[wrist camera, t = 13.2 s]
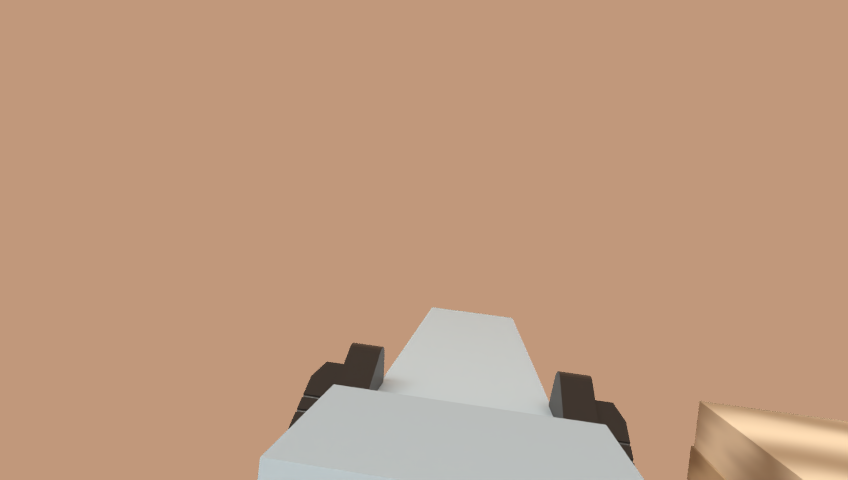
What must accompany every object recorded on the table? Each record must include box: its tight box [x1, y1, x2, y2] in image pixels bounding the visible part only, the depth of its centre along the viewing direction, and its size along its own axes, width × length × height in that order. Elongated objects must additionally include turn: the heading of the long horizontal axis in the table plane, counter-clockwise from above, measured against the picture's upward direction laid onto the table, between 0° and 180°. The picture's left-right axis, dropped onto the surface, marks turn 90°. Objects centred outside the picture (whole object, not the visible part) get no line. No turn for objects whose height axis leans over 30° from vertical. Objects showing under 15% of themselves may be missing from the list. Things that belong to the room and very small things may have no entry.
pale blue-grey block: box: [258, 307, 644, 480], centre depth 18 cm, size 24×4×4 cm, turn 175°
